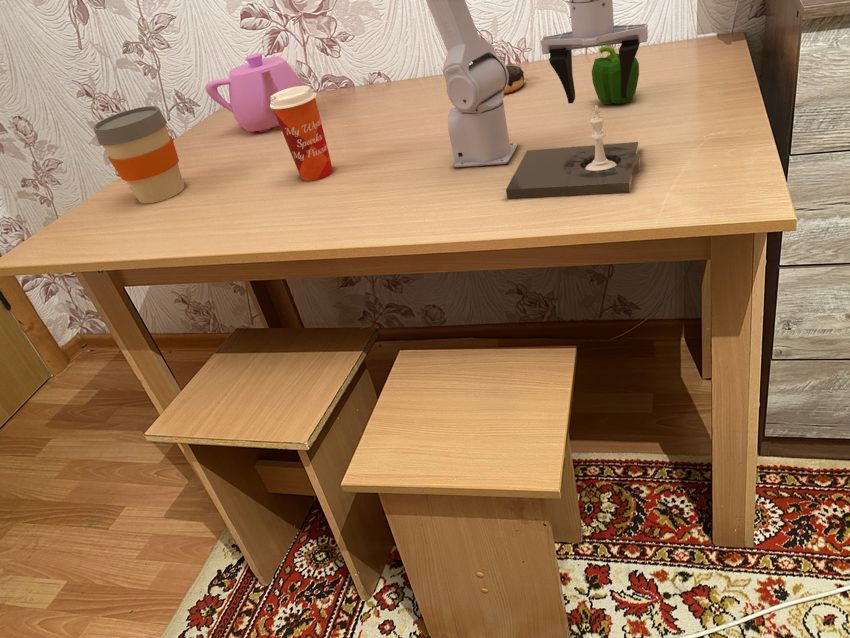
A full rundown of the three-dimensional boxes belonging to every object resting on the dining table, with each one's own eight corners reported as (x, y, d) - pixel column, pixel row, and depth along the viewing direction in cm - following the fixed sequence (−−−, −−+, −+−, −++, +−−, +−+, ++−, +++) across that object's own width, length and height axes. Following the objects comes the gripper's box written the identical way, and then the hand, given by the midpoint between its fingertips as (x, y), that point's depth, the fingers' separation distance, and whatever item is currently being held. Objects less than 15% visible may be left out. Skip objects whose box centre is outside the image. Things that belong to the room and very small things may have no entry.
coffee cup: (302, 187, 124) (273, 103, 116) (290, 175, 131) (262, 95, 122) (345, 172, 127) (320, 88, 118) (331, 161, 133) (307, 81, 124)
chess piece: (617, 176, 103) (612, 109, 98) (583, 179, 105) (577, 113, 99) (617, 163, 107) (614, 98, 101) (585, 166, 109) (580, 102, 103)
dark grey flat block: (507, 198, 104) (505, 189, 103) (527, 158, 115) (526, 150, 115) (634, 192, 98) (634, 182, 97) (643, 150, 109) (643, 141, 108)
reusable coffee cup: (155, 210, 129) (117, 131, 120) (116, 204, 136) (78, 129, 127) (206, 181, 137) (174, 105, 128) (167, 177, 144) (134, 105, 135)
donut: (526, 91, 145) (524, 72, 143) (471, 102, 146) (467, 83, 144) (524, 77, 154) (521, 58, 152) (471, 87, 155) (468, 69, 153)
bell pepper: (647, 93, 131) (645, 37, 125) (630, 108, 125) (627, 51, 120) (605, 93, 135) (601, 39, 129) (587, 108, 130) (582, 52, 124)
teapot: (220, 129, 166) (194, 64, 158) (304, 103, 171) (284, 39, 162) (231, 154, 148) (203, 82, 140) (325, 125, 153) (303, 53, 144)
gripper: (532, 12, 93) (544, 112, 101) (643, -4, 88) (646, 103, 96) (542, 0, 98) (552, 96, 106) (647, -16, 94) (650, 86, 102)
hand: (597, 98), depth 102 cm, fingers open, 7 cm apart
